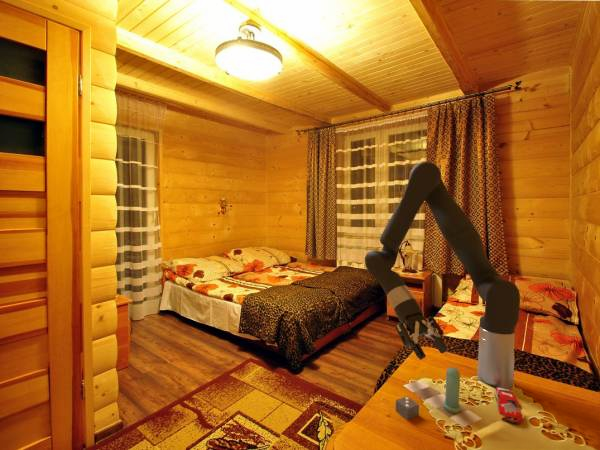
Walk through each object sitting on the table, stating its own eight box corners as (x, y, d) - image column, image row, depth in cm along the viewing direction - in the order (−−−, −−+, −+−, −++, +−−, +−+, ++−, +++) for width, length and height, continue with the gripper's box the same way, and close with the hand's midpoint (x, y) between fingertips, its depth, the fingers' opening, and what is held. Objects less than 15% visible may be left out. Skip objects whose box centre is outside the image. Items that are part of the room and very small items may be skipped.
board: (420, 383, 96) (420, 379, 96) (483, 422, 78) (483, 418, 78) (401, 389, 92) (401, 385, 92) (462, 432, 74) (462, 427, 74)
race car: (524, 429, 76) (525, 413, 76) (498, 422, 79) (499, 407, 79) (515, 400, 88) (515, 386, 88) (493, 395, 91) (493, 381, 90)
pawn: (450, 402, 84) (451, 363, 84) (463, 411, 81) (464, 369, 80) (440, 406, 82) (442, 366, 82) (453, 415, 79) (454, 373, 78)
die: (406, 410, 82) (407, 394, 82) (418, 419, 79) (419, 403, 79) (395, 415, 81) (395, 398, 80) (407, 424, 77) (407, 407, 77)
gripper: (393, 300, 90) (423, 355, 81) (427, 294, 97) (459, 344, 87) (380, 313, 95) (407, 365, 86) (413, 306, 102) (442, 355, 92)
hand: (434, 355), depth 86 cm, fingers open, 8 cm apart
